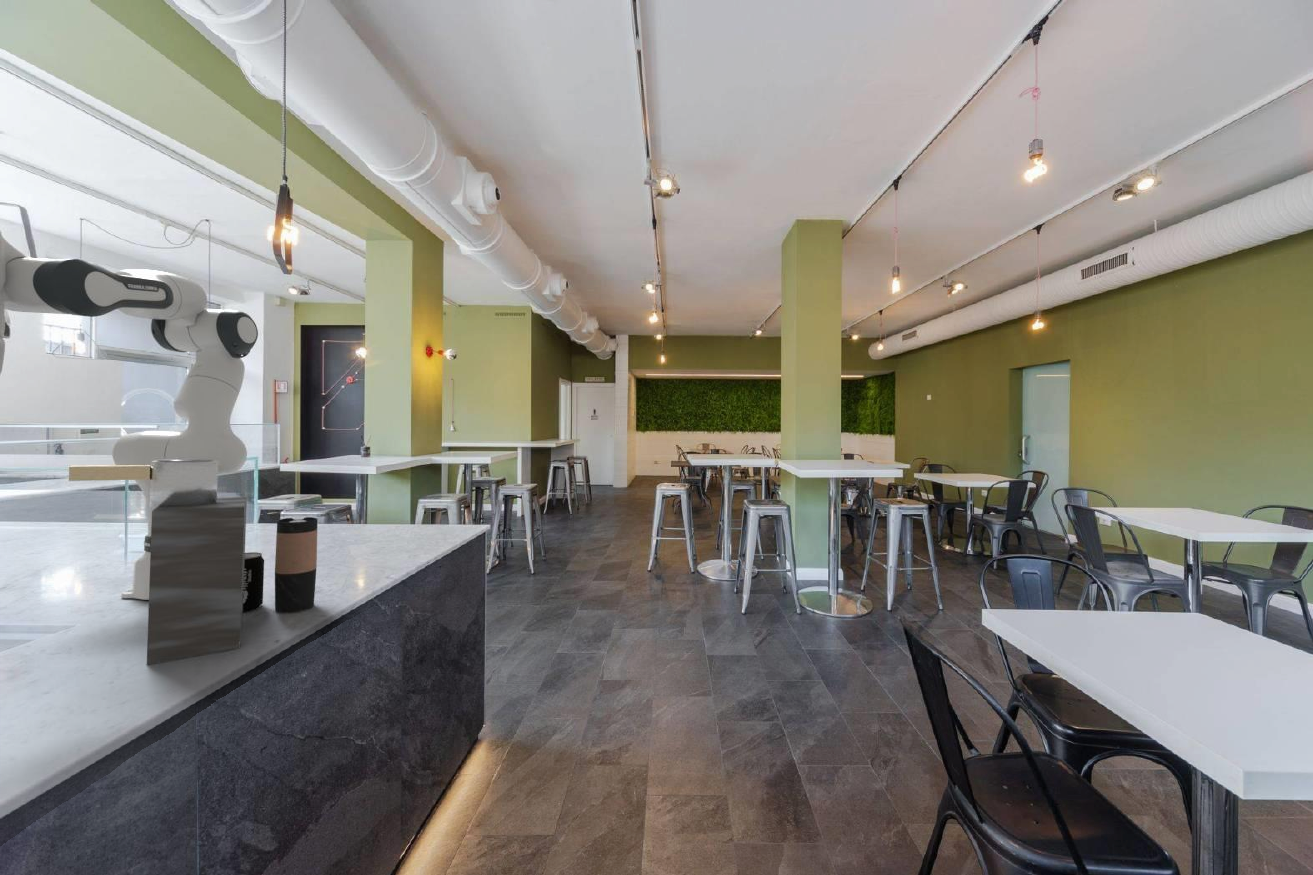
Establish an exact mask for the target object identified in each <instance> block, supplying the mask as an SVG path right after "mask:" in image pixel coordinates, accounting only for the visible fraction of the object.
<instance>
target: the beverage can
mask: <svg viewBox="0 0 1313 875" xmlns="http://www.w3.org/2000/svg"><path fill="white" fill-rule="evenodd" d="M264 575H265V559H264V557H263V553H262V552H257V551H255V552H254V551H253V552H250V551H249V552H245V563H244V592H243V613H248V612H253V611H255V610H257V609H259V608H260V607H261V606H263V605H262V604H263V602H264V583H265V582H264V578H265V576H264Z"/></svg>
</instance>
